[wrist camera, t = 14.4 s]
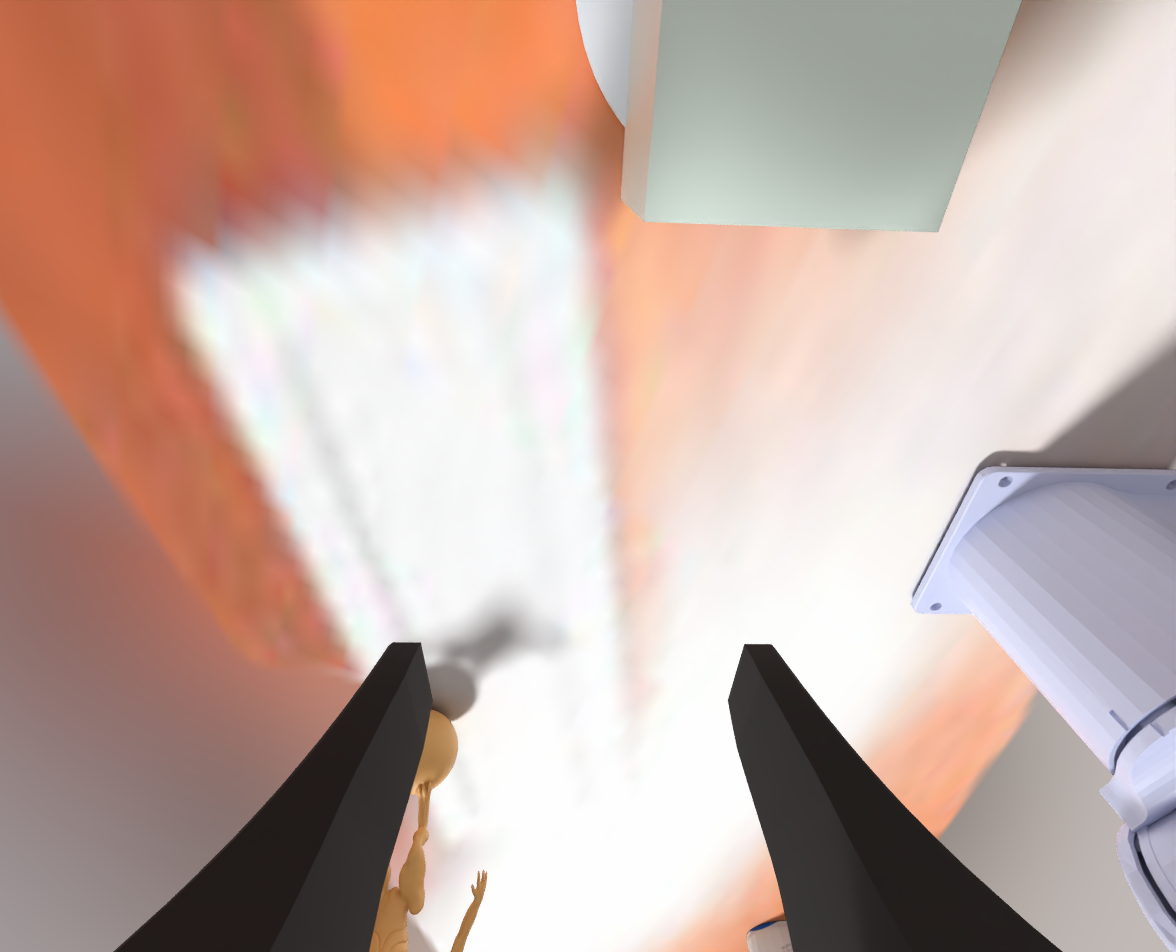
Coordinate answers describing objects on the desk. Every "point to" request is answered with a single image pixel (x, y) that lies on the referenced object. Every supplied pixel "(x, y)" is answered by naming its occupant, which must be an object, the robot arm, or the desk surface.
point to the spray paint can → (770, 938)
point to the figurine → (394, 903)
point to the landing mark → (608, 47)
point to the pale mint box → (806, 109)
